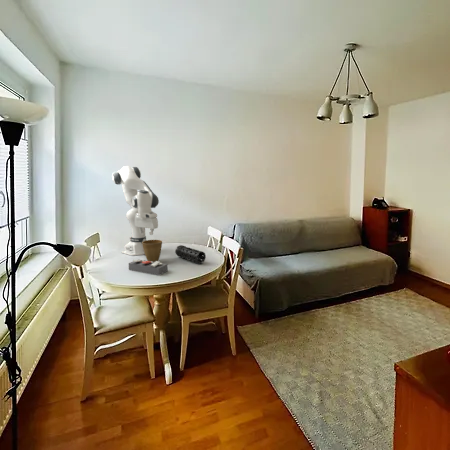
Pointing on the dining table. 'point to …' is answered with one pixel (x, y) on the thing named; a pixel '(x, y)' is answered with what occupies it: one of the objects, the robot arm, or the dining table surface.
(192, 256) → the muzzle brake
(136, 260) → the left rocker
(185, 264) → the dining table surface
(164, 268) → the switch strip
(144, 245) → the plant pot
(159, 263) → the right rocker
